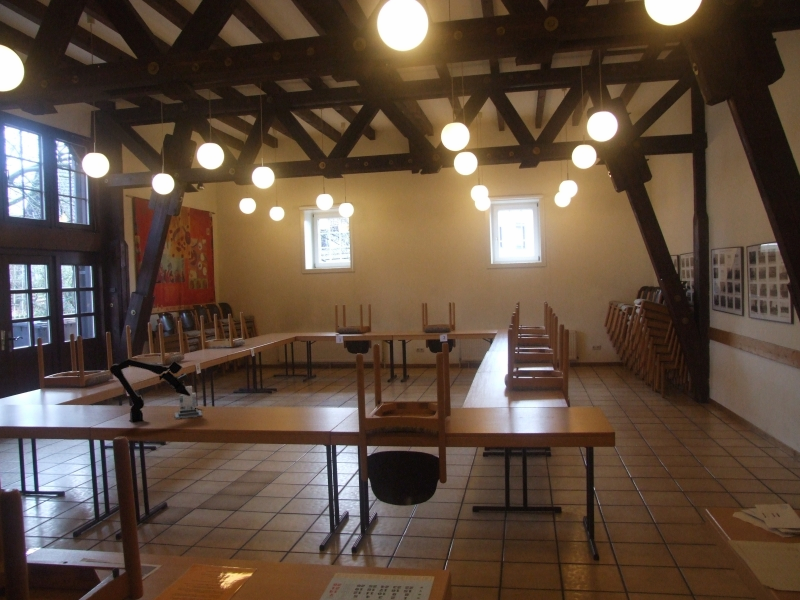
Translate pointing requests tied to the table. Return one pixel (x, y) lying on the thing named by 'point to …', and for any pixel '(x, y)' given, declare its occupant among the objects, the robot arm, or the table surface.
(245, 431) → the table surface
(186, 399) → the block
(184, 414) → the dock
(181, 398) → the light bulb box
